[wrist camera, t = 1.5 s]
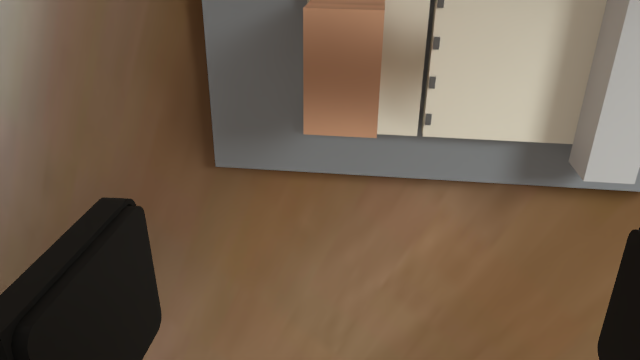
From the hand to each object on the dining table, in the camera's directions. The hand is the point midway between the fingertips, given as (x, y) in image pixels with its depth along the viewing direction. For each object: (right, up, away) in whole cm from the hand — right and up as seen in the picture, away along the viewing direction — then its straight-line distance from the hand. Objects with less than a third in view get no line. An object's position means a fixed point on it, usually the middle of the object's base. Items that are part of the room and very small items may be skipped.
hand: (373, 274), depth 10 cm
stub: (+1, +9, +17) cm, 19 cm away
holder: (+6, +10, +18) cm, 21 cm away
